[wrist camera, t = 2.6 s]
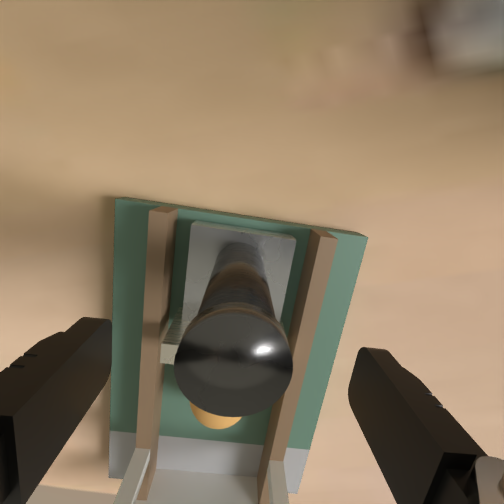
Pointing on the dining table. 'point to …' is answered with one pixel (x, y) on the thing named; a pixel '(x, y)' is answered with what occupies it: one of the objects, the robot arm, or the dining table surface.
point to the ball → (213, 419)
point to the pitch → (162, 375)
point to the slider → (232, 320)
